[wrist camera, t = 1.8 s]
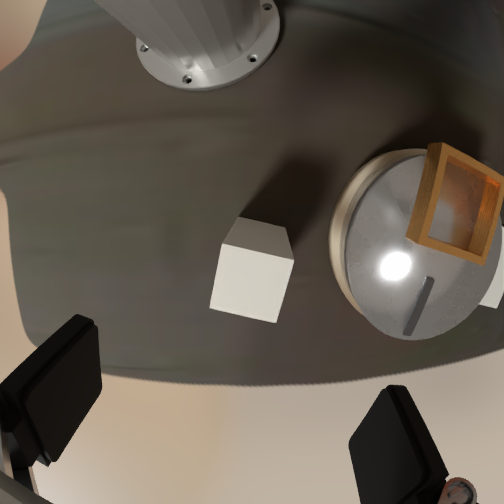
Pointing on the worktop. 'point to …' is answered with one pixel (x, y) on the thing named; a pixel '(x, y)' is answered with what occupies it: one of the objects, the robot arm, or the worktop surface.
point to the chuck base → (343, 204)
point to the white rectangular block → (253, 270)
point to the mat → (496, 282)
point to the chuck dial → (423, 241)
